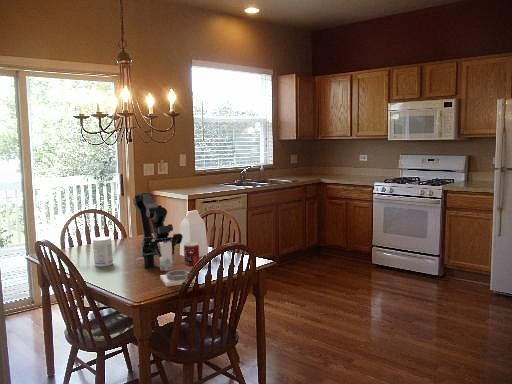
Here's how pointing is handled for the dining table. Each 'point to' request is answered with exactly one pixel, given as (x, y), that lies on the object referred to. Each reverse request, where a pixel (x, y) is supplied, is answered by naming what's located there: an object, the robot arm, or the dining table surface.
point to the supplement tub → (102, 251)
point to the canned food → (191, 253)
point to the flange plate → (170, 282)
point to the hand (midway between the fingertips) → (166, 255)
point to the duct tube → (166, 255)
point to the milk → (193, 232)
